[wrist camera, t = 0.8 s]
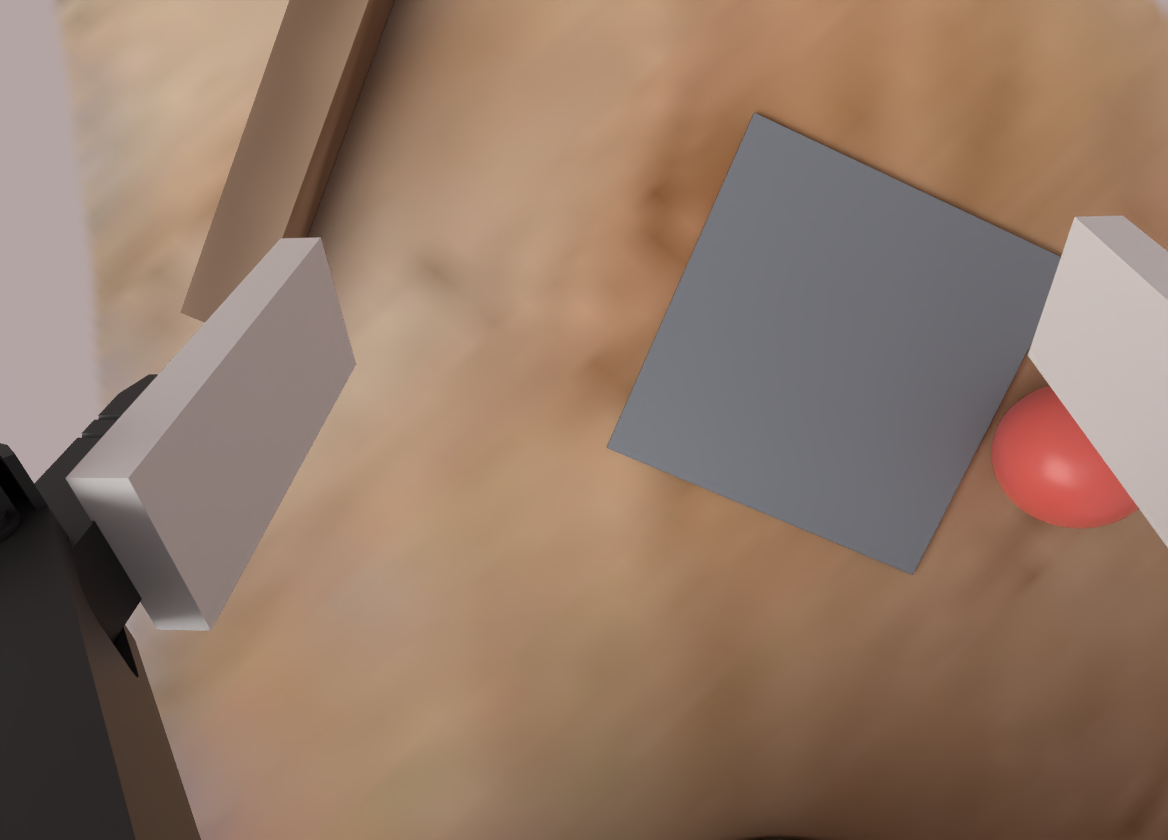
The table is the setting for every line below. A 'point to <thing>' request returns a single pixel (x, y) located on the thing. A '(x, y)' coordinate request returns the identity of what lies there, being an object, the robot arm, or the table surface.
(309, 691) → the table surface
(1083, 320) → the robot arm
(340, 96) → the strip
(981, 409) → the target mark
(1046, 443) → the red ball
